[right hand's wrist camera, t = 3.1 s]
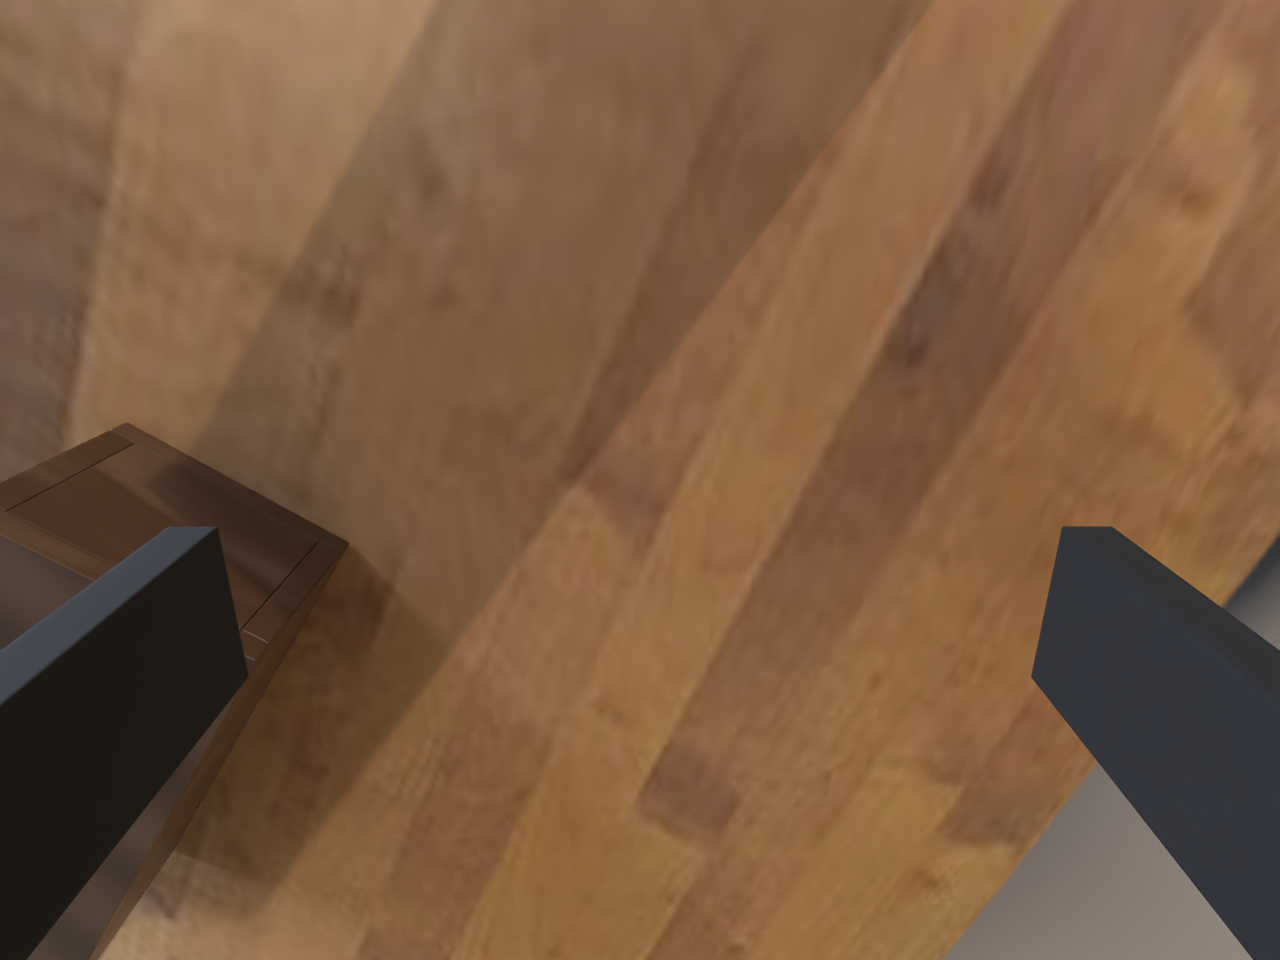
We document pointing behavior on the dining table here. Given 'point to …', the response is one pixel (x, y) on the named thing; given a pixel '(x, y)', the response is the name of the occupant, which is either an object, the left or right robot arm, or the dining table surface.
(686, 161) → the dining table surface
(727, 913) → the dining table surface
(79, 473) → the cabinet
